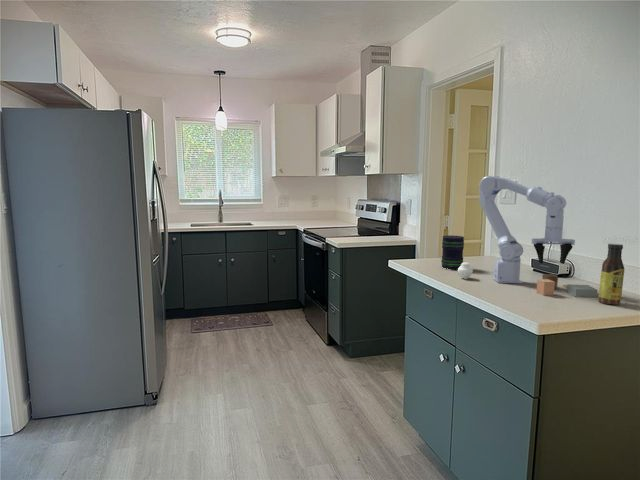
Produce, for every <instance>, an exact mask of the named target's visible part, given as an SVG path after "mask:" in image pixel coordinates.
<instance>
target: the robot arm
mask: <svg viewBox="0 0 640 480" xmlns="http://www.w3.org/2000/svg"><path fill="white" fill-rule="evenodd" d="M478 188H479V196H478V197H479V198H478V200H479V204H480V206H481V208H482V211H484V212H483V213H485V214H484V215H485V216H486V218H487V221H488V222H489V225H490V226H491V228H492V230H493V232H494V234H495V236H496V238H497V240H498V242H497V246H498V248H499V256H500V257H501V258H500V259H495V261H494V266H493V267H494V269H493V277H492V278H493V279H494V281H496V283H501V284H503V283H504V284H523V281H522V280H520V277H521V262H522V261H521V260H522V259H521V256H522V255H523V253H524V248H523V246H522V244H521V243H519V241H517V239H516V237H515V236H513V235H512V234H511V233H512V232H510V230H509V228H508V226H507V224H506V222H505V220H504V218H503V215H502V214H501V212H500V209H499V208H498V206H497V203H495V200H496V198H497V195H498V194H499V192H501V191H502V190H508V191H512V192H515V193H517V194H519V195H523V196H525V197H526V198H527V199H526V200H527V201H528V202H530V203H533V204H536V205H537V206H541V207H543V208H546V216H545V229H544V237H543V238H541V237H540V238H531V244H532V245H533V247H534V249H535V252H536V254H537V257H538V263H539V264H543V263H544V252H545V248H546V246H545V245H560V247H559V248H560V249H559V250H560V255H559V257H560V258H559V263H560V264H562V265H564V264H565V262H566V260H567V257H568V255H569V254H570V252H571V250H572V249H573V247H574V246H575V243H576V239H573V238H563V231H564V230H563V229H564V228H563V227H564V217H565V216H564V213H565V212H564V211H565V210H564V209H565V207H566V206H567V200H566V198H565V197H564V196H562V195H561V194H555V192H554V191H553V192H552V191H551V192H549V191H547V190H544V189H543V187H541V186H538V187H536V186H533V187H531V188H530V187H527V186H525V185H523V184H520V183H518V182H516V181H513V180H511V179H509V178H506V177H505V178H504V177H501V176H497V175H495V176H492V175H486V176H484V177H483V178H481V180H480V182H479V184H478Z"/></svg>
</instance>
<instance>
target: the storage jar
mask: <svg viewBox="0 0 640 480" xmlns="http://www.w3.org/2000/svg"><path fill="white" fill-rule="evenodd" d="M441 241H442V243H441V244H442V246H441V247H442V254H441V255H442V256H441V260H440V261H441V266H442V267H443V268H448V269H458V268H459V267H460V266H461V264H462V263H464V247H465V236H463V235H442V240H441ZM443 268H442V269H443Z"/></svg>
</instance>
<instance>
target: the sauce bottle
mask: <svg viewBox="0 0 640 480" xmlns="http://www.w3.org/2000/svg"><path fill="white" fill-rule="evenodd" d="M623 249H624V246H623V244H621V243H607V257H606V258H605V259H604V260H603V262H602V266H601V272H600V277H599V278H600V281H599V287H598V301H599V303H601V304H606V305H613V306H615V305H620V303H621V300H622V296H623V295H622V294H623V285H624V276H625V267H624V262H623V259H622V253H623V251H622V250H623Z"/></svg>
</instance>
